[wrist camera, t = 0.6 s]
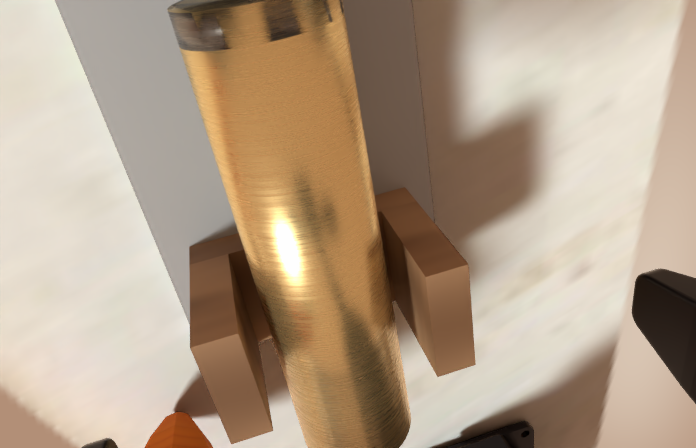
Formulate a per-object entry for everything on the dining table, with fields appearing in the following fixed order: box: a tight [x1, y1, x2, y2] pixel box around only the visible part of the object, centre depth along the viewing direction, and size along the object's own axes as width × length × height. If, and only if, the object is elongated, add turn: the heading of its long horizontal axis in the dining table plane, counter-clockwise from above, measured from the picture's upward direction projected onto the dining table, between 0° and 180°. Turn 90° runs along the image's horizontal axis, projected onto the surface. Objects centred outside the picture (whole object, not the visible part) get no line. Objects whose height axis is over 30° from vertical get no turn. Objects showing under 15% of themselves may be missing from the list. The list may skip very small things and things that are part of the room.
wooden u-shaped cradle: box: [189, 187, 475, 444], centre depth 19 cm, size 4×8×5 cm, turn 100°
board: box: [55, 0, 435, 324], centre depth 18 cm, size 19×10×1 cm, turn 10°
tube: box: [167, 0, 411, 448], centre depth 17 cm, size 15×4×4 cm, turn 10°
